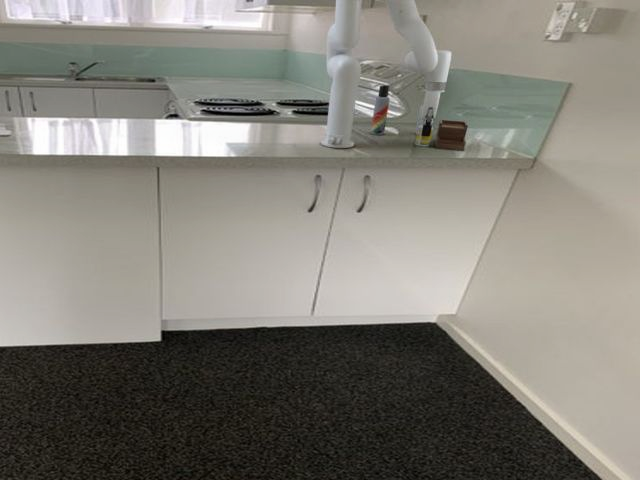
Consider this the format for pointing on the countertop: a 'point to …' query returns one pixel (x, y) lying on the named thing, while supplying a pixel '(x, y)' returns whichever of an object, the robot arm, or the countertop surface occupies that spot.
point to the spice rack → (451, 135)
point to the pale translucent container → (419, 119)
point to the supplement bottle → (420, 139)
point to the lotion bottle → (380, 111)
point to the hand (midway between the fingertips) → (425, 133)
